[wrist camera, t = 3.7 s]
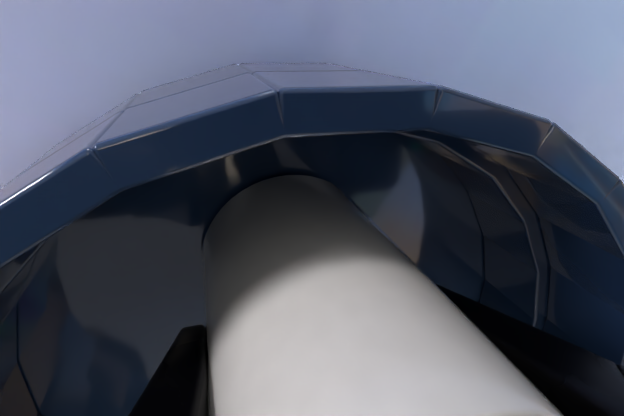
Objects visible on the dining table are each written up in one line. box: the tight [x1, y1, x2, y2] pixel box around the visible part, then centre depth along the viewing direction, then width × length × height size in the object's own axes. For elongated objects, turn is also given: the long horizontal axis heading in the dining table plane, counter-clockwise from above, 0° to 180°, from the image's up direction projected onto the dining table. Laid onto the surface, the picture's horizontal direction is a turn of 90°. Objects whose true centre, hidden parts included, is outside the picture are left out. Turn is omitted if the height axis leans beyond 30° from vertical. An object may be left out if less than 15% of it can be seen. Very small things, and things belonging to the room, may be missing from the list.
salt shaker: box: [201, 175, 564, 416], centre depth 7 cm, size 5×5×8 cm
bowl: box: [0, 63, 624, 416], centre depth 10 cm, size 16×16×5 cm
